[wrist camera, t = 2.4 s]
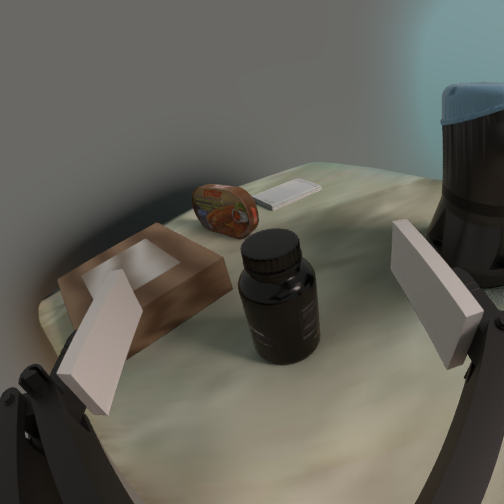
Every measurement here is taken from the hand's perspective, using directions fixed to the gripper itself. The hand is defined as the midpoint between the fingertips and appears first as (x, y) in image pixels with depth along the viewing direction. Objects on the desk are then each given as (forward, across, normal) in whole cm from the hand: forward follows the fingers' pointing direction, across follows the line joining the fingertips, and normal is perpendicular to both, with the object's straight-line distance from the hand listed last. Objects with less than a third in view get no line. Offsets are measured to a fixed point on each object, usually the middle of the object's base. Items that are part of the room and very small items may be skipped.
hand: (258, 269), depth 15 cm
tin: (+38, -7, -16) cm, 42 cm away
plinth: (+22, -20, -16) cm, 34 cm away
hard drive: (+49, +4, -17) cm, 52 cm away
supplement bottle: (+10, 0, -16) cm, 19 cm away
